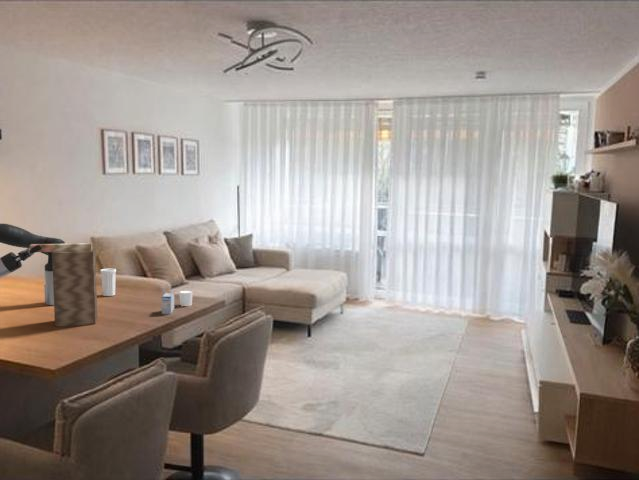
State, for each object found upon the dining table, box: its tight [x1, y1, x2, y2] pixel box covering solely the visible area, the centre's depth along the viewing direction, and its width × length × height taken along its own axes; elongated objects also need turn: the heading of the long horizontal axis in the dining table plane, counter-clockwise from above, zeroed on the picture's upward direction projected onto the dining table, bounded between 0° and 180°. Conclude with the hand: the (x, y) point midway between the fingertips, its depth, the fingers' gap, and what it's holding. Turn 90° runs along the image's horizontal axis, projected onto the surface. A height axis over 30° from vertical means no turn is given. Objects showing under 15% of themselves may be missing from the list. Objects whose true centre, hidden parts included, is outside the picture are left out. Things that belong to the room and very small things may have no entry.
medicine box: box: [161, 292, 175, 315], centre depth 251 cm, size 8×4×9 cm, turn 5°
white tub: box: [178, 290, 193, 307], centre depth 266 cm, size 7×7×7 cm
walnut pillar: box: [52, 248, 98, 327], centre depth 230 cm, size 16×11×32 cm
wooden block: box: [30, 242, 93, 253], centre depth 227 cm, size 24×4×3 cm, turn 109°
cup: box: [99, 267, 117, 297], centre depth 284 cm, size 8×8×14 cm
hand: (42, 245), depth 224 cm, fingers open, 8 cm apart
